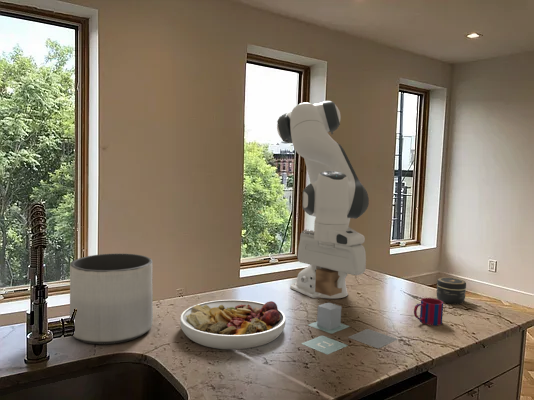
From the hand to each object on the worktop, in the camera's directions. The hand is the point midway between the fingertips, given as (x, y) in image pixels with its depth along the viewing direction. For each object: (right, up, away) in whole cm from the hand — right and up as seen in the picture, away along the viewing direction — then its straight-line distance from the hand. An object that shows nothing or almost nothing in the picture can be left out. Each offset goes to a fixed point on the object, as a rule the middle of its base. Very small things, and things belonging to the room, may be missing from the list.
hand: (328, 284), depth 120 cm
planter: (-60, -15, +8) cm, 62 cm away
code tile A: (-1, -17, +2) cm, 17 cm away
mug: (+34, -16, +23) cm, 44 cm away
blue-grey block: (+2, -15, +16) cm, 22 cm away
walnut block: (0, -2, 0) cm, 2 cm away
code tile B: (+2, -16, +16) cm, 22 cm away
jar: (+51, -15, +47) cm, 71 cm away
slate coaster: (+13, -17, +7) cm, 23 cm away
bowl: (-26, -16, +10) cm, 32 cm away
